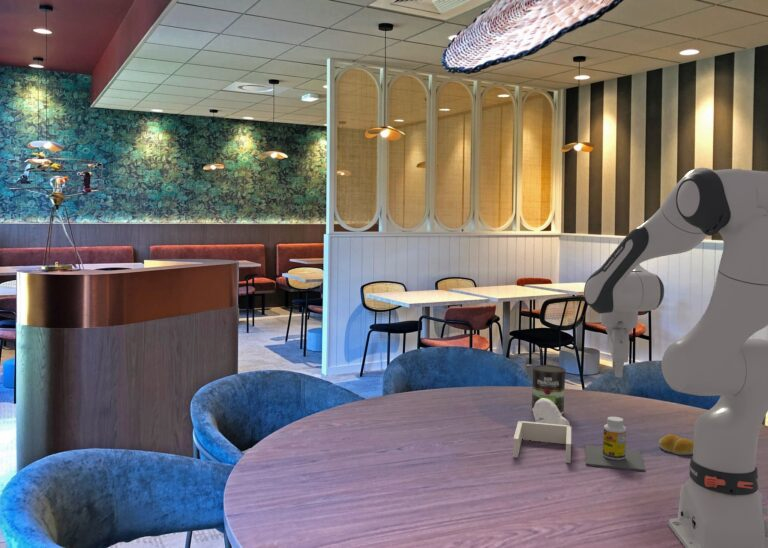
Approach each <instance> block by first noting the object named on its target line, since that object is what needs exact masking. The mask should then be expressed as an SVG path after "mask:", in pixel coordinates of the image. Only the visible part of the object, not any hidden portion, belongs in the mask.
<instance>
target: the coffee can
mask: <svg viewBox="0 0 768 548" xmlns="http://www.w3.org/2000/svg"><path fill="white" fill-rule="evenodd" d="M566 371H567V370H566V369H565V368H564V367H561V366H558V365H549V364H539V365H534V366H532V388H531V389H532V390H531V392H532V395H531V412H533V408H534V405H535V403H536V402H537V401H538V400H539V399H541V398H547V399H549V400H551V401H552V402H553V403H554V404H555V405H556V406H557V408H558V410H559V411H560V413H561V414H562V415H563V414H564V413H565V410H564V409H565V386H566V385H565V383H566Z"/></svg>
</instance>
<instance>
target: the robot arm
mask: <svg viewBox="0 0 768 548" xmlns="http://www.w3.org/2000/svg"><path fill="white" fill-rule="evenodd" d="M717 233H719V235H720V236H721V239H722V241H723V242H722V243H723V249H722V254H721V257H720V261H719V265H718V269H717V274H716V277H715V283H714V286H713V290H712V294H711V297H710V300H709V303H708V305H707V308H706V310H705V312H704V313H703V314H702V316H701V317H700V319H699V321H698V322H697V323H696V324H695V325H694V327H693V328H691V330H690V331H688V332H687V333H686V334H685V335H684V336H682V337H681V338H680V339H678V340H676V341H674V342H673V343H670V344H669V346H668V347H667V348H666V349H665V351H664V353H663V356H662V360H661V372H662V376H663V378H664V380H665V382H666V383H667V385H668V386H669V387H670V388H671V389H672V390H673V391H675V392H678V393H683V394H687V395H693V396H698V397H702V396H704V397H706V396H707V397H708V396H709V397H711V396H715V397H716V396H719V399H718V401H717V402H716V403H715V404H714V405H713V406H712V407H711V408H710V409H708V410H707V411H705V412H703V413H702V414H701V415H699V416H698V418H697V419H696V421H695V423H694V428H693V429H694V430H693V434H694V435H693V442H694V447H693V454H692V456H691V457H690V461H689V462H690V463H689V468H688V469H689V479H688V480H687V481H686V482H685V483H683V484H682V485H681V486H680V491H679V493H680V494H679V502H678V510H677V512H678V513H677V517H675V518H670V519H669V520H668V521H669V522H668V526H669V528H670V530H671V531H672V532H673V533H674V535H675V536H676V537H677V539H679V541H680V542H681V543H682V545H683V547H684V548H768V520H764V515H765V516H766V515H768V507H766V506H763V504H762V502H763V501H762V500H763V494H761V492H760V491H759V473H758V468H757V466H756V463H757V460H756V459H757V452H758V451H757V450H758V443H759V442H758V440H759V434H760V430H761V426H762V423H763V421H764V419H765V417H766V415H767V414H768V339H762V338H751V337H752V336H753V335H755V334H756V333H757V332H759V331H761V330H762V329H764V328H767V326H768V170H763V171H762V170H752V169H751V170H749V169H741V168H726V169H717V170H715V169H712V168H709V167H699V168H694V169H691V170H690V171H688V172H687V173H685V174H684V175H683V177H682V178H681V179H680V180H679V181H678V182H677V183H676V184H675V186H674V187H673V188H671V191H670V192H669V193H668V195H667V196H666V198H665V200H664V201H663V203H662V204H661V206H660V207H659V208H658V210H656V212H655V213H654V214H652V216H651V217H650V218H648V219H647V220H645V221H644V222H643V223H642V224H641V225H638V226H637V227H635V228H633V229H632V230H631V231H629V233H628V234H627V235H626V236H625V237H624V238H623V240H622V241H621V242H620V243H619V244H618V246H617V247H616V248H615V249H614V250H613V252H612V253H611V254H610V255H609V256H608V258H607V259H606V260H605V262H603V264H602V265H601V266H600V267H599V268H598V269H597V270H595V271H594V272H593V273H592V274H591V275H590V276H589V277H588V278H587V280H586V282H585V284H584V288H583V296H584V297H583V298H584V300H585V302H586V304H587V306H589V307H590V308H591V309H592V310H594V312H596V313H597V314H600V315H601V316H600V317H601V318H600V326H602V327H605V332H606V333H607V344H608V349H609V352H610V355H611V358H612V360H611V361H612V363H611V365H612V369H614V377H615V378H622V377H623V375H624V374H623V372H624V366H625V363H628V361H629V359H630V358H629V354H630V353H629V352H630V347H629V346H630V335H631V334H633V329H636V328H638V322H639V321H638V320H639V319H638V318H639V317H638V316H639V312H650V311H655V310H656V309H658V307H660V306H661V304H662V302H663V300H664V297H665V286H664V283H663V281H662V279H661V278H660V276H658V274H656V273H654V272H650V271H648V270H647V269H645V268H644V267H642V266H641V263H644V262H647V261H650V260H652V259H655V258H660V257H666V256H671V255H672V256H673V255H679V254H683V253H688V252H690V251H691V250H693V249H695V248H696V247H697V246H699V245H700V244H701V243H702V242H703V241H705V239H706V238H707V236H709V237H711V236H714V235H715V234H717Z"/></svg>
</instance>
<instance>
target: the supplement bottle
mask: <svg viewBox="0 0 768 548" xmlns="http://www.w3.org/2000/svg"><path fill="white" fill-rule="evenodd" d="M606 422H607V423H606V424H604V426H603V435H602V438H603V439H602V447H603V456H604V457H606V458H608V459H611V460H622V459H624V458H625V449H626V446H627V445H626V444H627V428H626V426H625V425H624V419H623V418H622V417H619V416H608V417H607V419H606Z"/></svg>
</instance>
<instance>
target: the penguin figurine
mask: <svg viewBox="0 0 768 548" xmlns="http://www.w3.org/2000/svg"><path fill="white" fill-rule="evenodd" d="M532 413H533V414H532V415H533V417H534V419H535V421H534V422H537V423H548V424H559V425H570V421H569V420H568V419H566V418H565V417H564V416H563V414H561V413H560V411H559V410H558V408H557V406H556V405H555V404H554V403H553V402H552V401H551V400H549V399H547V398H541V399H539V400H538V401H537V402H536V403H535V405H534V408H533V411H532ZM570 426H571V425H570Z"/></svg>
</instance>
